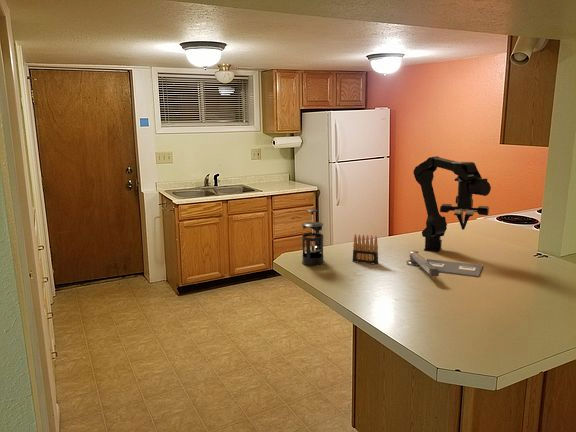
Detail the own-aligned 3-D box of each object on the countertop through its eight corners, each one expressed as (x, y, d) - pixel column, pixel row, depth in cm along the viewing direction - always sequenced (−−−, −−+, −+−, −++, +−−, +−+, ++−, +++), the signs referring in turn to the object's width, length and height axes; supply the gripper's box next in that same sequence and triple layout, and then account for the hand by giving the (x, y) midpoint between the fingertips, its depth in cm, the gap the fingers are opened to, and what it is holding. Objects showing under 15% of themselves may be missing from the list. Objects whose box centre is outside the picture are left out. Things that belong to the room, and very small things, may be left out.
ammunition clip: (352, 261, 200) (352, 234, 198) (353, 260, 202) (353, 233, 200) (377, 264, 196) (377, 236, 193) (378, 262, 198) (378, 235, 195)
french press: (317, 267, 193) (317, 213, 188) (297, 264, 198) (296, 211, 193) (329, 259, 203) (328, 207, 198) (309, 257, 208) (308, 206, 203)
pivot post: (404, 264, 194) (404, 258, 194) (408, 260, 199) (408, 254, 199) (419, 266, 191) (419, 260, 191) (422, 262, 197) (422, 256, 196)
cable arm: (408, 255, 197) (408, 250, 196) (416, 255, 197) (417, 250, 196) (430, 276, 171) (430, 270, 170) (439, 276, 171) (440, 270, 171)
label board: (419, 269, 188) (419, 267, 187) (427, 260, 200) (427, 258, 199) (478, 277, 177) (478, 275, 177) (482, 266, 190) (482, 264, 189)
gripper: (491, 190, 196) (489, 227, 200) (445, 188, 205) (443, 223, 208) (488, 195, 187) (486, 233, 190) (440, 192, 195) (438, 229, 199)
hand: (463, 229), depth 197 cm, fingers closed
